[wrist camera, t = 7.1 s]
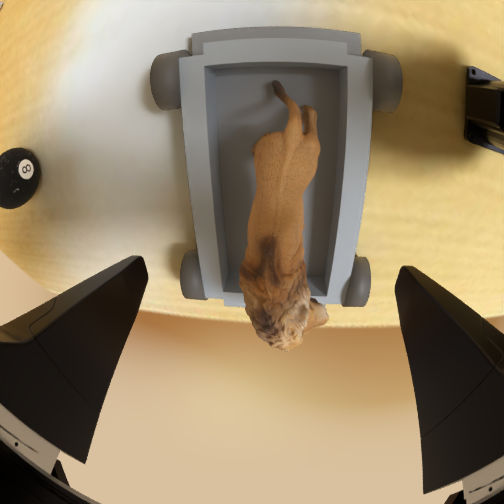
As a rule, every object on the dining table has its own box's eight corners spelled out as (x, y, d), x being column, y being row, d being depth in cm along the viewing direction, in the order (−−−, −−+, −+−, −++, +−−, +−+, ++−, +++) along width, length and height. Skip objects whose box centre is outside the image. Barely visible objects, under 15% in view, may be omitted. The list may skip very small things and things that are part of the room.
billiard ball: (56, 185, 21) (15, 211, 16) (28, 199, 22) (-7, 224, 17) (39, 132, 18) (-5, 150, 13) (13, 153, 19) (-25, 172, 14)
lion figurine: (319, 271, 22) (330, 361, 14) (255, 272, 23) (239, 362, 15) (314, 79, 14) (341, 60, 7) (231, 85, 15) (182, 76, 8)
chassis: (379, 40, 12) (400, 28, 9) (350, 298, 24) (358, 329, 21) (173, 39, 14) (148, 29, 11) (200, 291, 26) (189, 321, 22)
